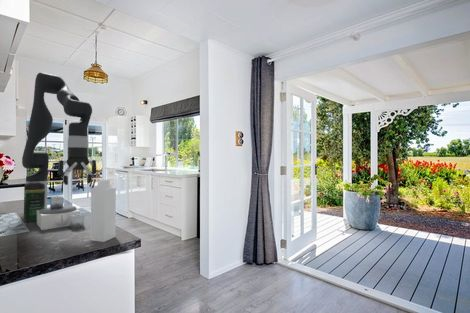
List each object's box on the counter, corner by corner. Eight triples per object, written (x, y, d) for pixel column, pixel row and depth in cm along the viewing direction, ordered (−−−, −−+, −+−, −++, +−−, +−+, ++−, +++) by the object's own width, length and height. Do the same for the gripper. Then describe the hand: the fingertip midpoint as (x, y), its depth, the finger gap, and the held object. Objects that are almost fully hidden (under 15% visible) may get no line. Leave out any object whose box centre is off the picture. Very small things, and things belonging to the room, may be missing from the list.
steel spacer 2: (69, 227, 113) (69, 215, 113) (82, 225, 117) (82, 213, 117) (72, 229, 109) (72, 217, 109) (85, 227, 113) (85, 215, 113)
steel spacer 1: (49, 207, 120) (49, 196, 120) (62, 206, 124) (62, 195, 124) (51, 209, 117) (51, 198, 117) (64, 207, 120) (64, 196, 120)
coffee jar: (45, 221, 122) (45, 181, 122) (23, 223, 117) (24, 182, 117) (44, 217, 130) (44, 180, 130) (23, 219, 125) (24, 181, 125)
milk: (90, 240, 95) (90, 180, 95) (102, 235, 101) (102, 179, 101) (104, 242, 94) (104, 181, 94) (115, 237, 100) (116, 179, 100)
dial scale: (36, 223, 118) (36, 208, 118) (72, 218, 128) (72, 204, 128) (41, 230, 107) (42, 213, 107) (80, 224, 117) (80, 209, 117)
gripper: (93, 147, 121) (93, 182, 121) (56, 146, 111) (56, 184, 111) (98, 147, 115) (98, 183, 115) (60, 146, 105) (60, 185, 105)
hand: (77, 183), depth 113 cm, fingers open, 8 cm apart
